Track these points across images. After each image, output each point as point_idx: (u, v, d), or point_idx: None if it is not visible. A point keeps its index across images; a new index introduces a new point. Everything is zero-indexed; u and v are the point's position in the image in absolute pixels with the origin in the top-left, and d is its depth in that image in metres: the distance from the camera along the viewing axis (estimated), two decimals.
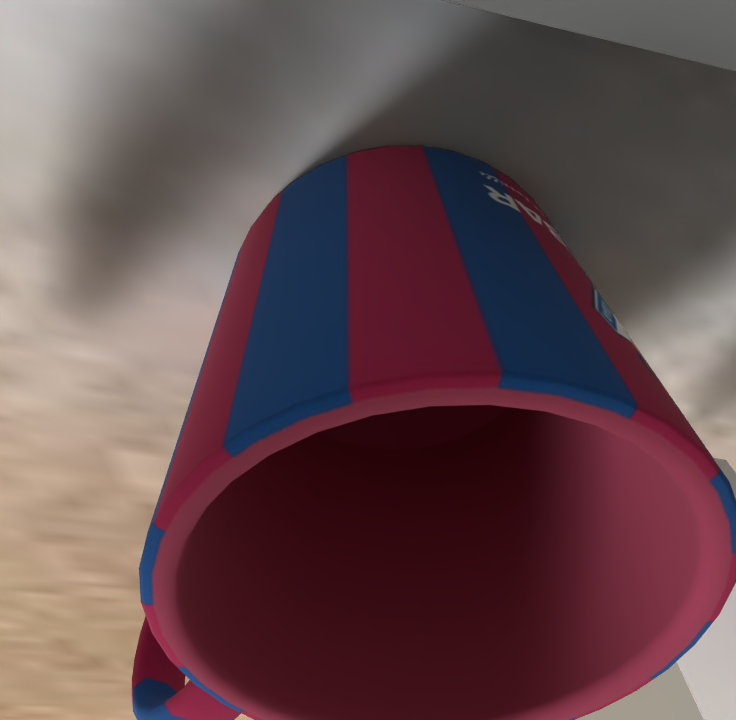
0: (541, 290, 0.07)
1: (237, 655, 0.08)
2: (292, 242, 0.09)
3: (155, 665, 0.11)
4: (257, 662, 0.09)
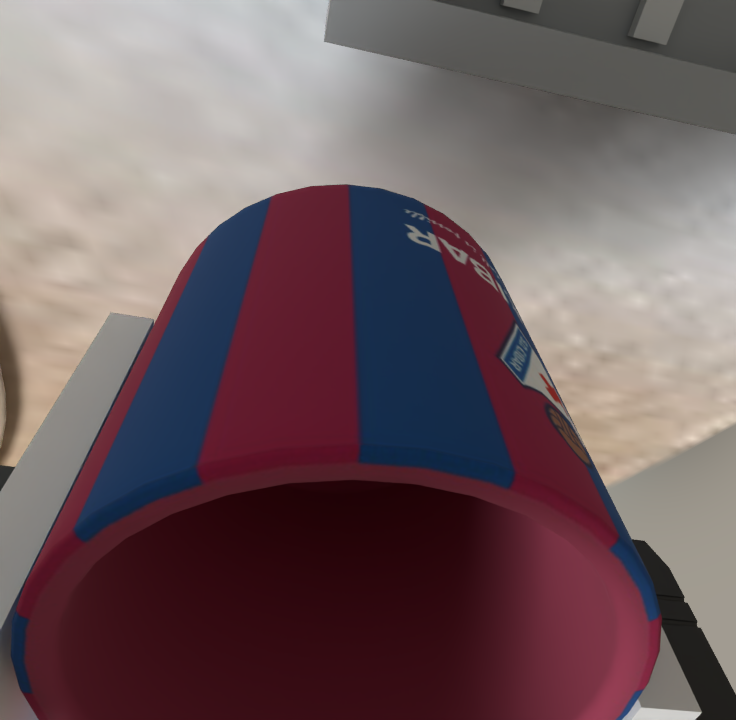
0: (436, 343, 0.07)
1: None
2: (197, 293, 0.08)
3: None
4: None
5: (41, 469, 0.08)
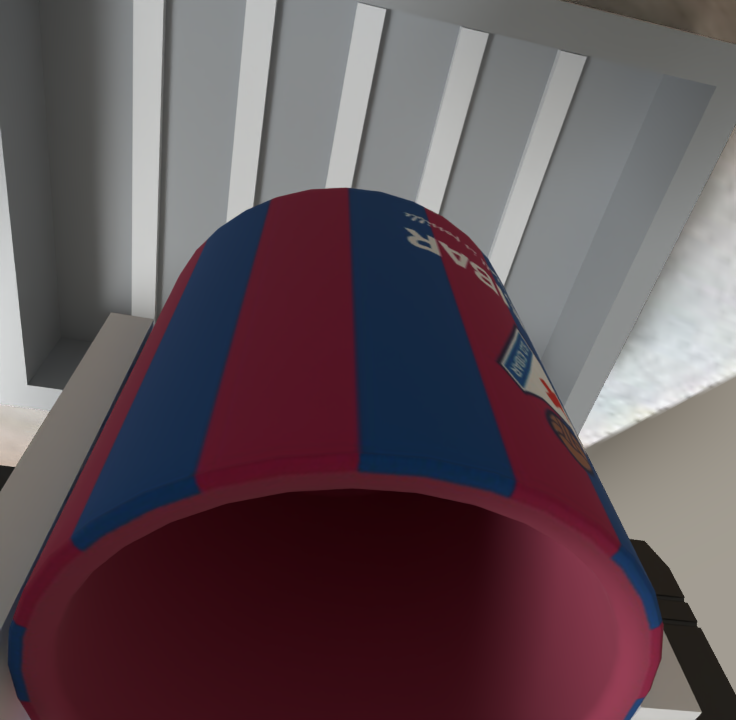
0: (436, 349, 0.07)
1: None
2: (196, 297, 0.08)
3: None
4: None
5: (41, 469, 0.08)
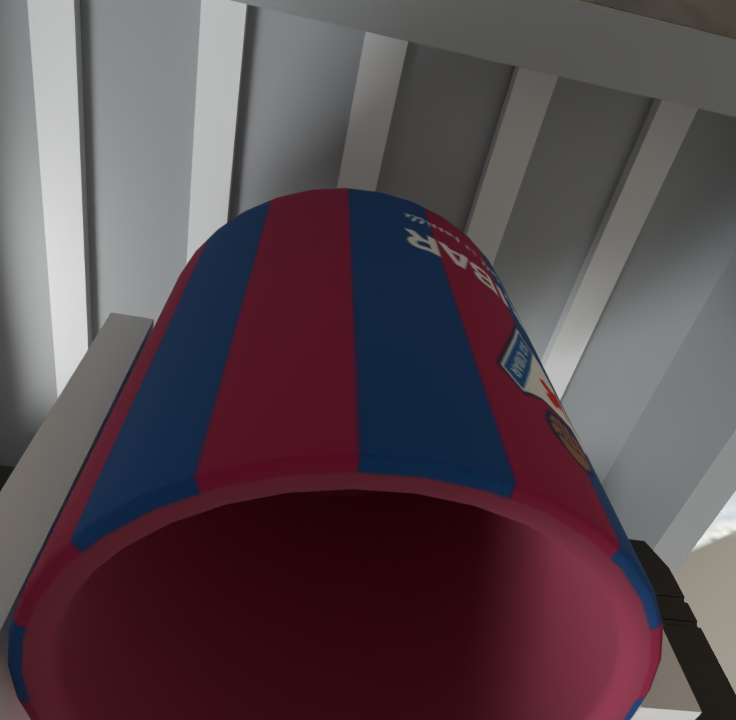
0: (436, 349, 0.07)
1: None
2: (196, 298, 0.08)
3: None
4: None
5: (41, 469, 0.08)
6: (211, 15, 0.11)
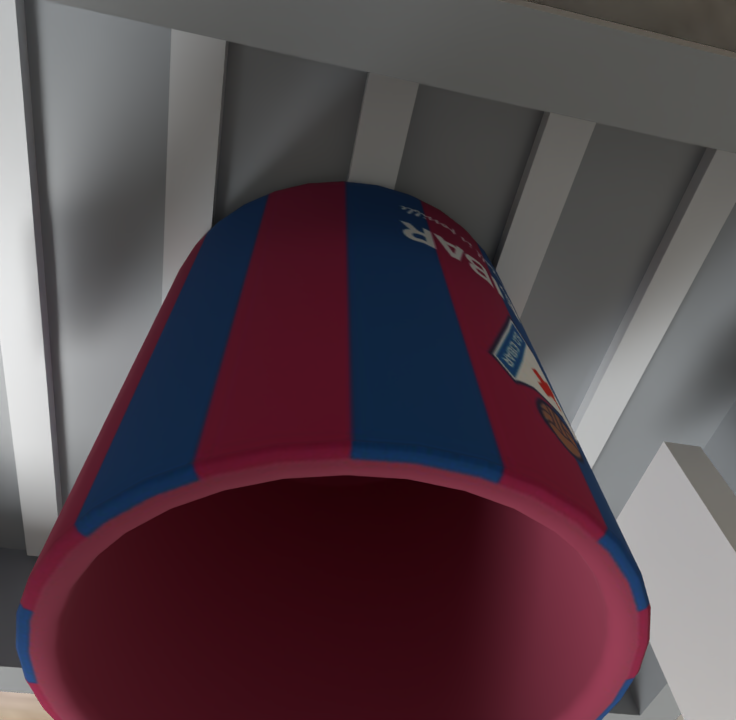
0: (428, 340, 0.07)
1: None
2: (195, 290, 0.09)
3: None
4: None
5: None
6: (184, 45, 0.10)
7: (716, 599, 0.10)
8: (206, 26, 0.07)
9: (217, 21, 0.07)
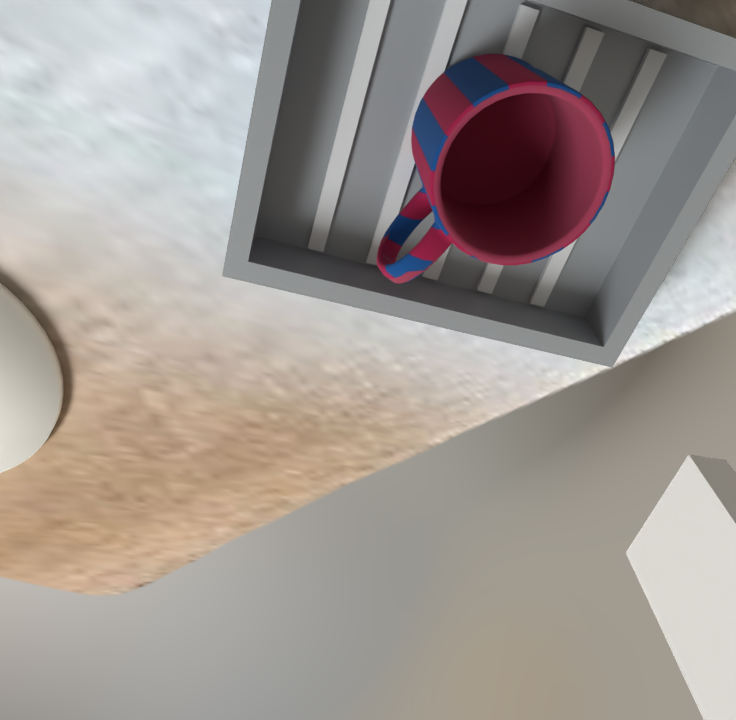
0: (555, 79, 0.23)
1: (446, 214, 0.24)
2: (464, 76, 0.24)
3: None
4: (451, 222, 0.24)
5: None
6: None
7: None
8: None
9: None
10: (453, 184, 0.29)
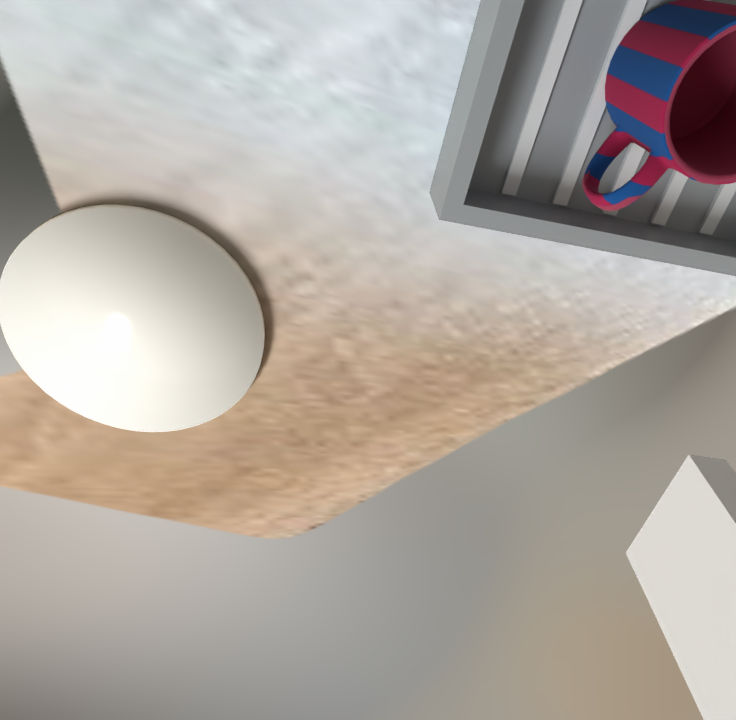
0: None
1: None
2: (675, 18, 0.28)
3: None
4: None
5: None
6: None
7: None
8: None
9: None
10: None
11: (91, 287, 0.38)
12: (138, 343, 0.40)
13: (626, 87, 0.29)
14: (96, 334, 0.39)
